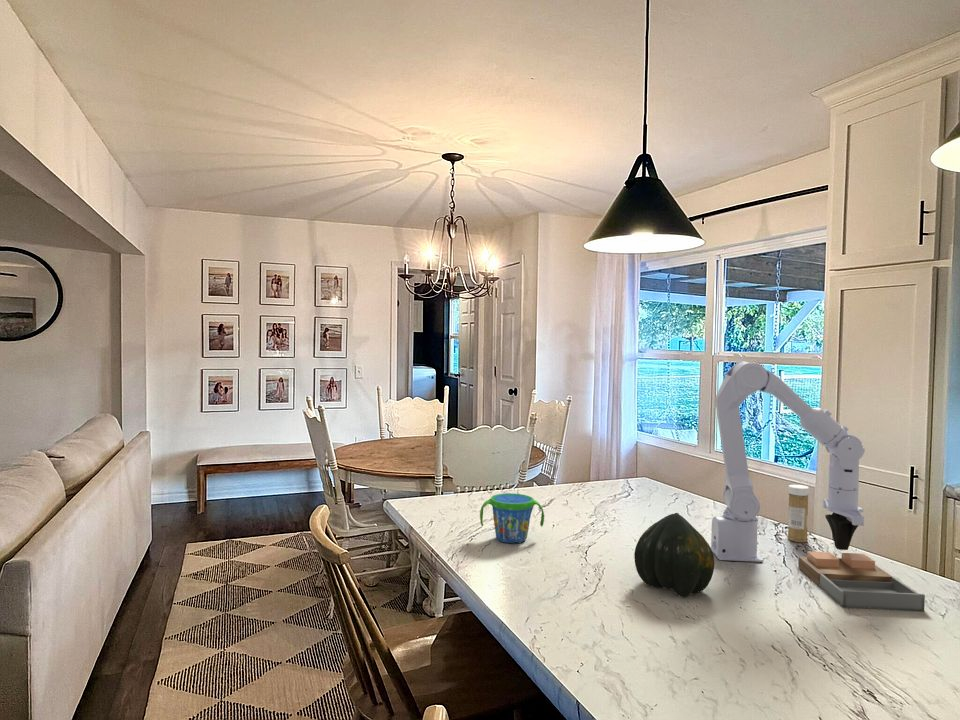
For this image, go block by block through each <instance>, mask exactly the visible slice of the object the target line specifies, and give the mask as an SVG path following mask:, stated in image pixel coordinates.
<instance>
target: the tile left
mask: <svg viewBox="0 0 960 720" xmlns="http://www.w3.org/2000/svg"><path fill="white" fill-rule="evenodd" d="M806 557H807V559H808V560H809V561H810V562H812V563H813V564H814V565H815V566H822V567H839V559H838V558H839V557H836V556H835V555H834V554H832V553H831V552H828V551H810V550H809V551H808V550H807V551H806Z"/></svg>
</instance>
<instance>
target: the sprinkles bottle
mask: <svg viewBox="0 0 960 720" xmlns="http://www.w3.org/2000/svg"><path fill="white" fill-rule="evenodd" d="M787 490H788V492H787V493H788V508H787V509H788V510H787V511H788V512H787V513H788V514H787V515H788V517H787V519H788V520H787V528H788V529H787V539H788V541H789V540H790V541H791V542H795V543H800V544H801V543H807V542H809V541H808V540H809V538H808V534H809V533H808V528H809V515H808V513H809V495H810V487H809V486H808V485H803V484H789V485H788V489H787Z"/></svg>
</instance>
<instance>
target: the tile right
mask: <svg viewBox="0 0 960 720" xmlns="http://www.w3.org/2000/svg"><path fill="white" fill-rule="evenodd" d="M841 558H842V561H843V562H845V563H846V564H847V565H849V566H850V567H851V568H867V569H875V565H876V560H874V559H873V558H871V557H870V556H868V555H867V554H865V553H853V552H852V553H851V552H841Z"/></svg>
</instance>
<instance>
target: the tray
mask: <svg viewBox="0 0 960 720" xmlns="http://www.w3.org/2000/svg"><path fill="white" fill-rule="evenodd" d="M819 587H820V588H821V589H822V590H823V592H825V593H827V595H829V596H830V597H831V598H832V599H833V600H834V601H836V603H837V604H839V605H840V606H842V608H849V609H850V608H851V609H852V608H853V609H869V610H872V609H874V610H891V611H908V612H909V611H911V612H912V611H913V612H925V606H926V605H925V603H926V602H925V601H926V595H925V594H924V593H919V592H918V591H915V590H914V589H913V588H911V587H909V586H908V585H906V584H905V583H903V582H902V581H900V579H898V578H896V577H895V576H892V579H891V582H877V581H856V580H834V579H828V578H827V577H826V576H824V575H823V574H820V585H819Z"/></svg>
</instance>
